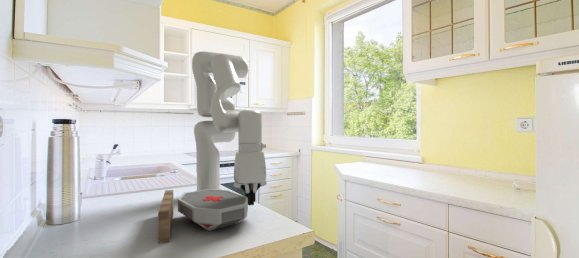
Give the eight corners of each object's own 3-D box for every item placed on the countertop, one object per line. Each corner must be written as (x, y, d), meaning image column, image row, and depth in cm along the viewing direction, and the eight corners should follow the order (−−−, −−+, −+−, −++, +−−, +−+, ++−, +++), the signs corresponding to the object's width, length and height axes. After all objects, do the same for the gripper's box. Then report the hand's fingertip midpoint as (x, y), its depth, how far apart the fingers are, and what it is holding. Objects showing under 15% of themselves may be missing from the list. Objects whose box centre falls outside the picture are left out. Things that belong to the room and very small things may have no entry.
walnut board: (165, 214, 98) (165, 190, 98) (173, 213, 99) (173, 189, 99) (158, 243, 75) (158, 212, 74) (169, 241, 76) (168, 211, 75)
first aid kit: (170, 218, 95) (203, 242, 76) (170, 195, 95) (203, 213, 76) (220, 207, 106) (259, 226, 87) (219, 187, 106) (259, 201, 87)
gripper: (269, 146, 101) (269, 199, 101) (225, 148, 96) (225, 203, 96) (275, 148, 94) (275, 205, 94) (228, 150, 89) (228, 209, 89)
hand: (250, 204), depth 95 cm, fingers closed
